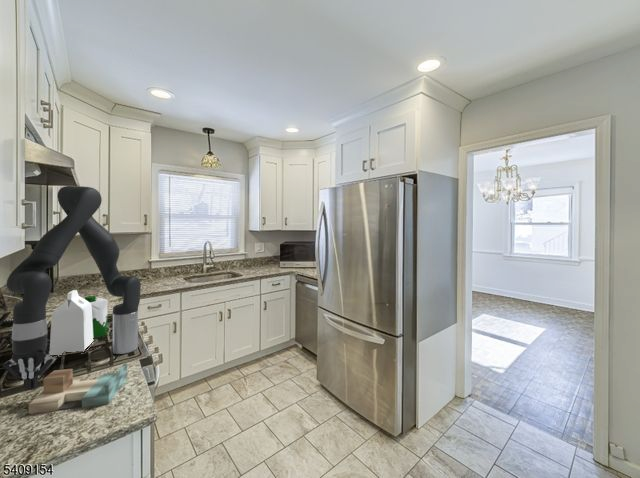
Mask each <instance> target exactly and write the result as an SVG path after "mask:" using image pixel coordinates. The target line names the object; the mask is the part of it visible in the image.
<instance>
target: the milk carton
mask: <svg viewBox="0 0 640 478" xmlns="http://www.w3.org/2000/svg"><path fill="white" fill-rule="evenodd" d="M84 299H85V300H87V301H88V302H90V303H91V305H92V321H93V338H94V339H97V338H101V336H102V337H105V336H107V335H108V305H109V304H108V303H109V300H108V299H106V298H104V297H97V298H96V295H92V296H91V295H90V296H85V297H84ZM106 334H107V335H106ZM104 335H105V336H104Z"/></svg>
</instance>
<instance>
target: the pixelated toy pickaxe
mask: <svg viewBox="0 0 640 478" xmlns="http://www.w3.org/2000/svg"><path fill="white" fill-rule="evenodd" d="M127 368H128V364H127V363H123V364H122V365H121V366H120V368H119V369H118V370H117V371H116V372H110V373H103V374H102V375H101V376H100V378H97V379H88V380H85V375H79V376H73V384H72V385H71V386H69V387H68V388H67V389H66V390H65V391H64V392H61V393H52V394H44V391H42V393H40V394H38V396H37V397H35V398H34V399H33V400H32V401H30V402H29V403H28V414H29V415H30V414H39V413H47V412H48V413H49V412H54V411H55V412H56V411H64V410H72V409H78V408H87V407H96V406H103V405H109V404H110V403H111V401H112V400H113V398H114V397H115V396H116V395H117V393H118V392H119V390H121V388H122V387H123V385H125V382H126V381H127V380H128V375H127V374H128V373H127V372H128V369H127Z"/></svg>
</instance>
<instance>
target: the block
mask: <svg viewBox="0 0 640 478" xmlns="http://www.w3.org/2000/svg"><path fill="white" fill-rule="evenodd" d="M73 371H74V369H73V368H66V369H56V370H55V369H54V370H53V371H52V372H50V373H49V374H48V375H46V376H45V377H44V378H43V381H42V382H43V392H44V394H52V393H61V392H64V391H65V390H66V389H67V388H68V387H69V386H71V385H72V384H73V377H74V373H73Z"/></svg>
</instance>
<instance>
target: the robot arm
mask: <svg viewBox="0 0 640 478" xmlns="http://www.w3.org/2000/svg"><path fill="white" fill-rule="evenodd" d="M102 199H103V198H102V194H101V193H100V192H99V191H98V190H97V189H96V188H93V187H90V186H79V185H65V186H62V187H61V188H60V189H59V190H58V191H57V202H58V204H59V206H60V207H61V209H62V210H63V211H64V214H65V215H66V216H65V217H64V218H63V219H62V220H61V221H60V222H59V223H57V224H56V225H55V226H53V227H52V228H50V229H49V230H48V231H46V232H45V233H44V234H43V235H42V237H41V238H40V239H39V240H38V241H37V243H36V245H35V246H34V247H33V249H32V251H31V253H30V254H29V255H28V256H27V257H26V258H25V259H24V260H23V261H22V262H20V264H18V265H17V267H15V268H14V269H13V270H12V271H11V273H10V274H9V276H8V277H7V279H6V287H7V289H8V291H10V292H12V293H14V294H23V297H22V301H20V302H18V303H16V304H15V305H14V307H12V308H13V309H12V329H11V340H12V341H11V342H12V343H11V344H12V345H11V346H12V348H11V352H12V353H13V354H12V355H11V359H9V360H7V361H5V362H4V363H2V367H3V368H4V369H5V370H6V371H7V372H8V373H10V374H11V376H13V377H14V378H16V379H19V378H21V379H22V380H23V388H24V390H25V391H32V390H34V389H35V388H37V386H38V384H39V377H40V376H42V374H44V373H45V372H46V371H47V370H49V368H50V367H51V365H53V363H55V362H56V360H57V359H58V357H57V356H54V357H52V356H50V355H49V352H50V351H48V323H47V311H46V310H47V303H48V300H49V297H50V295H51V292H52V287H53V283H52V278H51V277H50V275H49V274H47V273H46V272H45V270H46V269H49V268H53V267H55V266H56V265H57V264H58V263H59V262H60V260H61V259H62V257H63V255H64V253H65V252H66V250H67V248H68V247H69V246H70V244H71V242H72V240H73V239H74V238H75V237H76V235H77V234H78V235H79V236H80V238H81V239H82V241H83V242H84V244H85V246H86V248H87V250H88V252H89V254H90V255H91V257H92V259H93V260H94V262H95V264H96V267H97V268H98V271H99V272H100V275H101V276H102V279H103V282H104V285H105V287H106V290H107V292H108V293H109V295H111V296H112V297H118V298H119V297H120V298H121V297H122V298H123V300H122V303H119V304H116V305H114V306H113V308H112V353H113V354H115V355H123V354H129V353H131V352H134V351H135V350H137V349H138V348H139V306H140V302H141V301H140V300H141V289H142V288H141V287H142V286H141V280H140V279H139V277H137V276H133V275H122V274H121V273H120V271H119V269H118V267H117V265H118V264H117V263H118V260H119V258H120V248H119V246H118V243H117V241H116V239H115V238H114V236H113V235H112V234H111V232H109V231H108V229H106V228H105V227H104V226H102V224H100V223H99V222H98V221H97V220H96V219H95V218H94V215H95V213H97V211H98V209H99V208H100V207H101V205H102ZM42 363H43V366H42ZM41 366H42V367H41Z"/></svg>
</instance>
